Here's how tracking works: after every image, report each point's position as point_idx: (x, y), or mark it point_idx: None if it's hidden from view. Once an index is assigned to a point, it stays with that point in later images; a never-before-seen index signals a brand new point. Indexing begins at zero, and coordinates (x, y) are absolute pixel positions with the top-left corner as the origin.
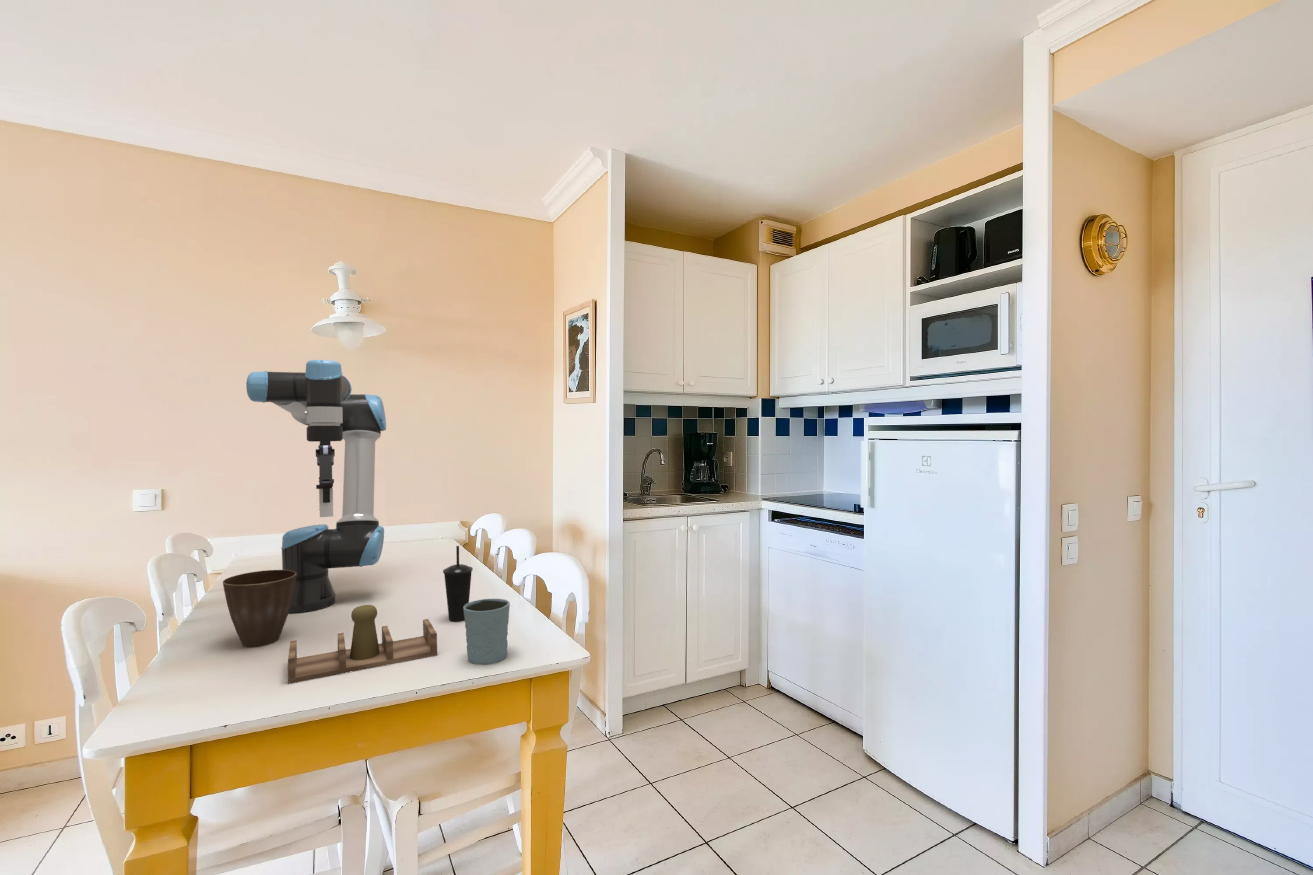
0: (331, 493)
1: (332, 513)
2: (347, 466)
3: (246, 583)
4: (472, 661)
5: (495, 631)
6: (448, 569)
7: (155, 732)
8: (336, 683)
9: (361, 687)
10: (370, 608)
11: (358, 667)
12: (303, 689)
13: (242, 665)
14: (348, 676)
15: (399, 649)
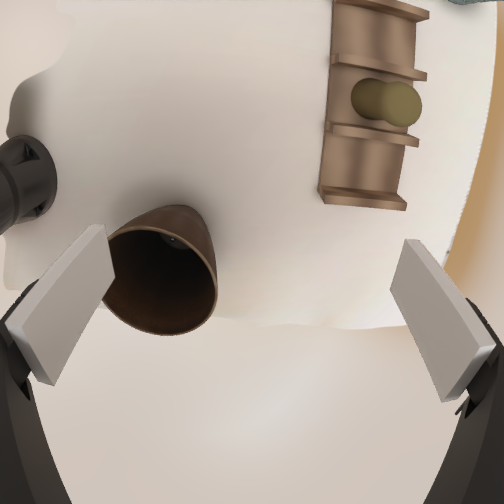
0: (476, 326)
1: (425, 250)
2: None
3: (117, 294)
4: (463, 4)
5: None
6: None
7: None
8: (429, 150)
9: (457, 130)
10: (418, 98)
11: None
12: (421, 185)
13: (281, 244)
14: (417, 133)
15: (379, 51)
